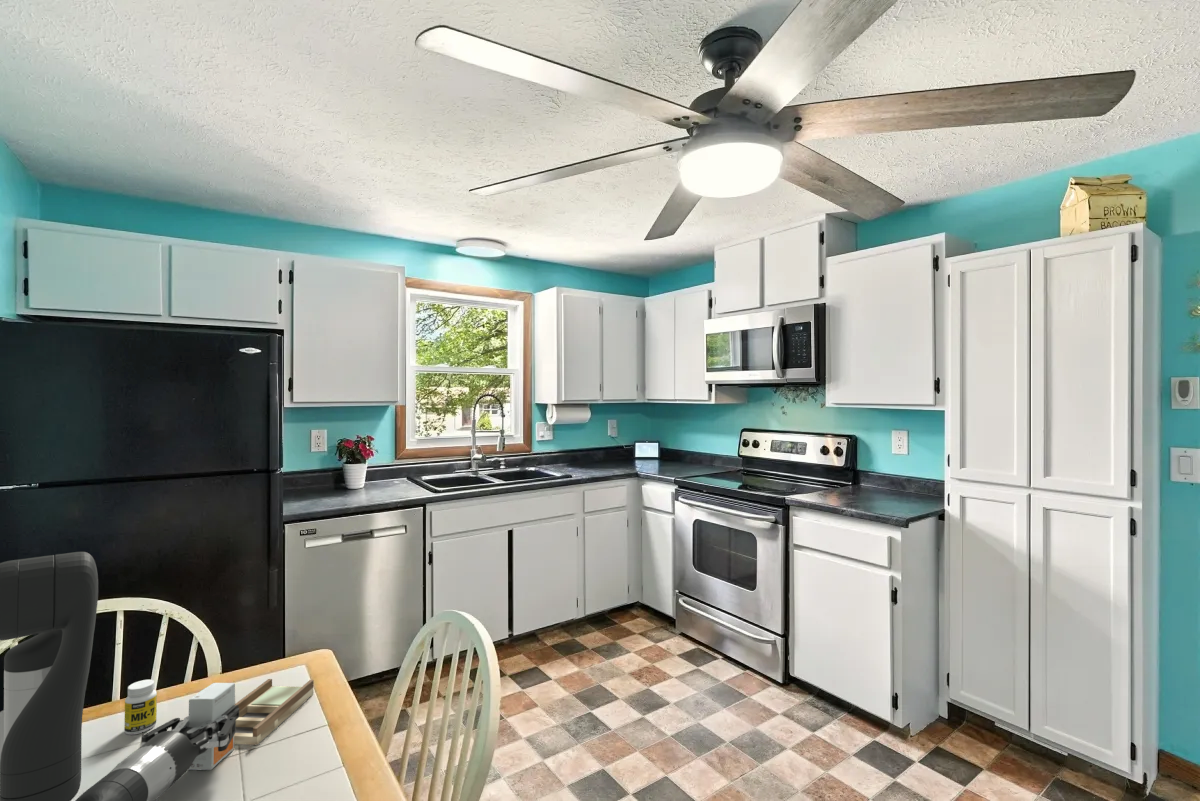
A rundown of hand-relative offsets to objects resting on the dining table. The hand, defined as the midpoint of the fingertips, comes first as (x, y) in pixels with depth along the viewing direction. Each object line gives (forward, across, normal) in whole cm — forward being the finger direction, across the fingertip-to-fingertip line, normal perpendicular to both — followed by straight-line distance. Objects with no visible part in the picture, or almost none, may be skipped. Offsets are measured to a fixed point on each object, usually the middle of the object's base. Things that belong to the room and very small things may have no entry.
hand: (222, 710), depth 101 cm
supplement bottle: (+8, +20, +7) cm, 23 cm away
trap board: (+11, -1, +7) cm, 13 cm away
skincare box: (-3, 0, +7) cm, 8 cm away
